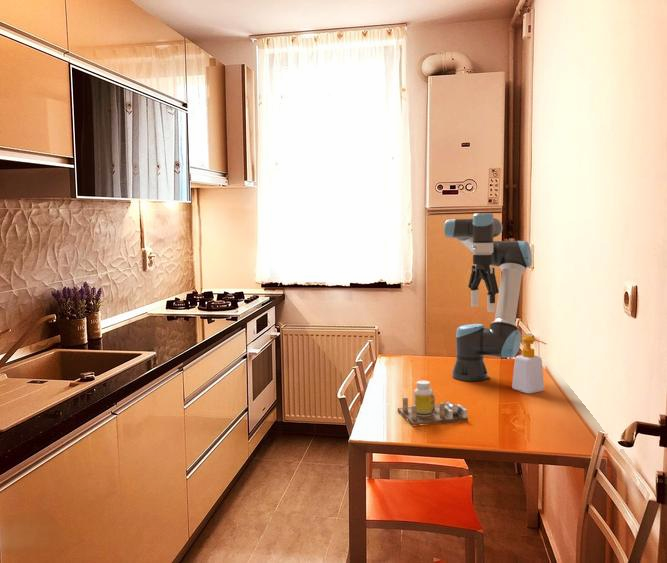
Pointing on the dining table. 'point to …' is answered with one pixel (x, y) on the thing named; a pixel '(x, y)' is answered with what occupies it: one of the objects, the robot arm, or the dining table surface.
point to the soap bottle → (528, 369)
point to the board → (439, 414)
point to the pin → (453, 408)
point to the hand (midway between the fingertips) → (482, 309)
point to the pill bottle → (423, 399)
